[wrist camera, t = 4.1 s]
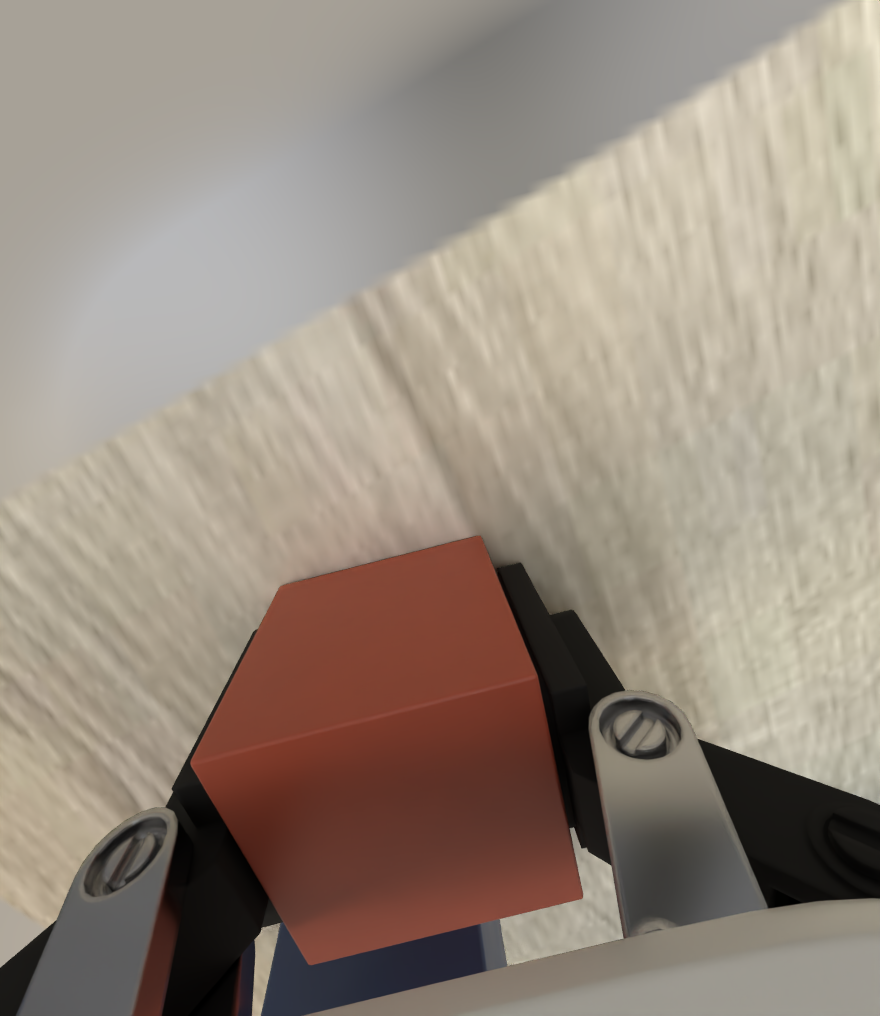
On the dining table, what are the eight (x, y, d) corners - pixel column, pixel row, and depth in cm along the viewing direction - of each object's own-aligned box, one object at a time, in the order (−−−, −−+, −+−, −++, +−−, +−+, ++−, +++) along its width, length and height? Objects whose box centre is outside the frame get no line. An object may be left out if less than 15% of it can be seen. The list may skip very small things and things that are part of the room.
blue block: (350, 924, 14) (327, 1177, 10) (300, 824, 12) (246, 1074, 8) (494, 888, 14) (534, 1127, 10) (461, 784, 12) (492, 1014, 8)
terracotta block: (343, 738, 11) (308, 968, 7) (279, 585, 10) (186, 763, 6) (517, 694, 11) (584, 900, 7) (480, 533, 10) (538, 675, 6)
